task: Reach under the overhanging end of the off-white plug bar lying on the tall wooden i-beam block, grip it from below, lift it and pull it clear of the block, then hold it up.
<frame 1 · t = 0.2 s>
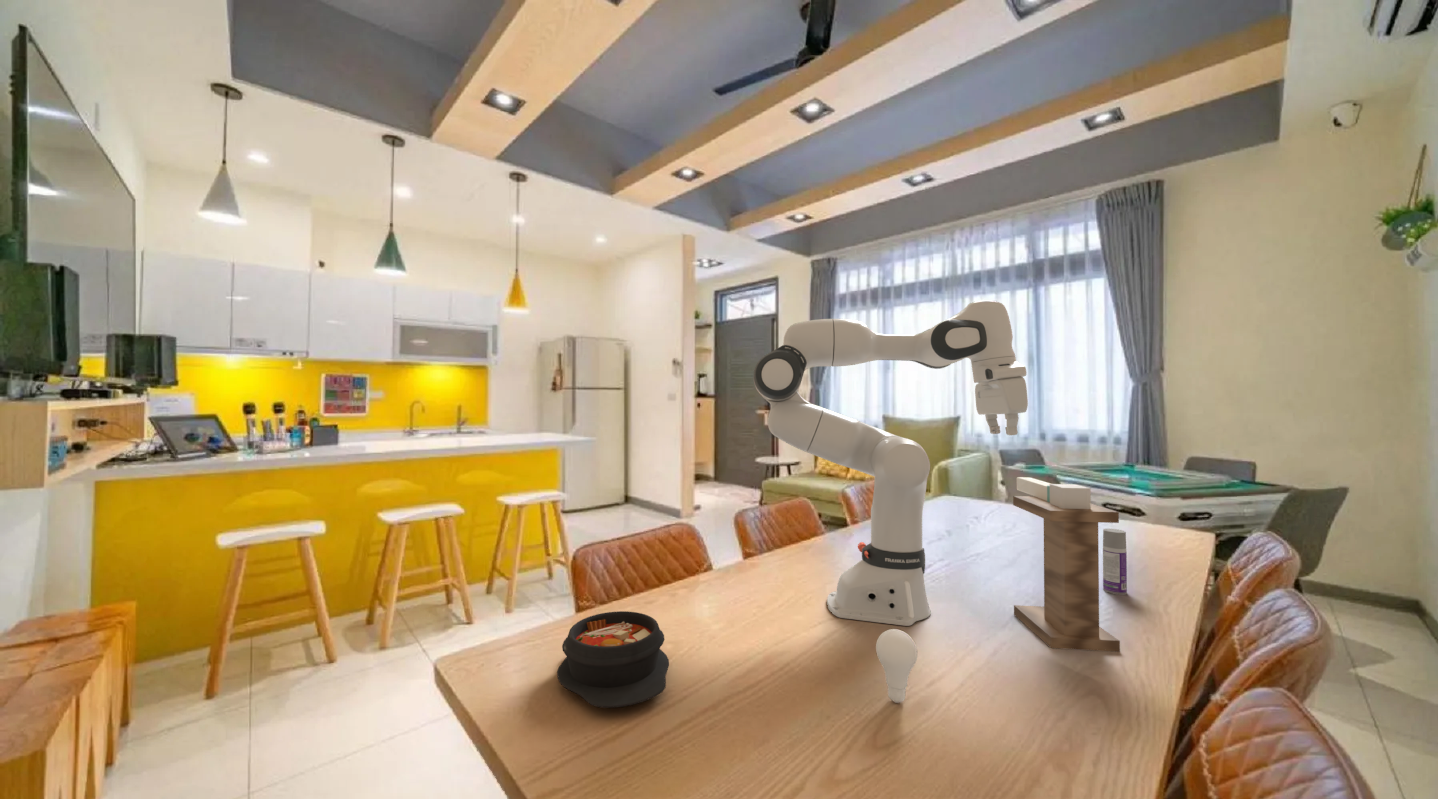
hand: (1003, 434, 115), 40 cm above the table, tool pointing down, fingers open, 8 cm apart
wooden i-beam block: (1062, 631, 106), on the table
plug bar: (1046, 498, 112), point 26 cm above the table, touching wooden i-beam block
lightbulb: (896, 703, 81), on the table
container: (1114, 592, 129), on the table
casserole: (614, 678, 88), on the table
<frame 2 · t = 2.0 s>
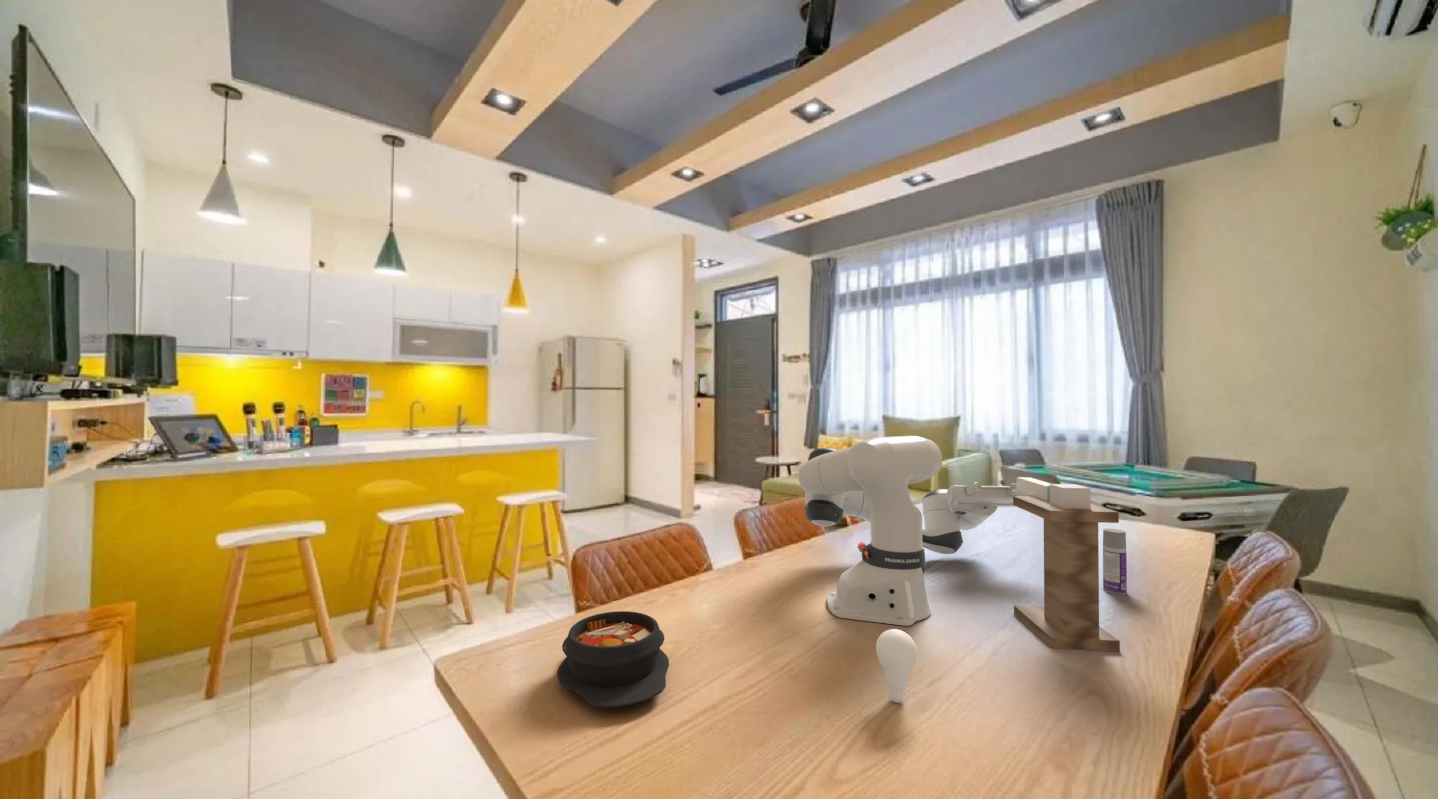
hand: (996, 485, 138), 25 cm above the table, tool pointing upward, fingers open, 8 cm apart
nothing on the table moved.
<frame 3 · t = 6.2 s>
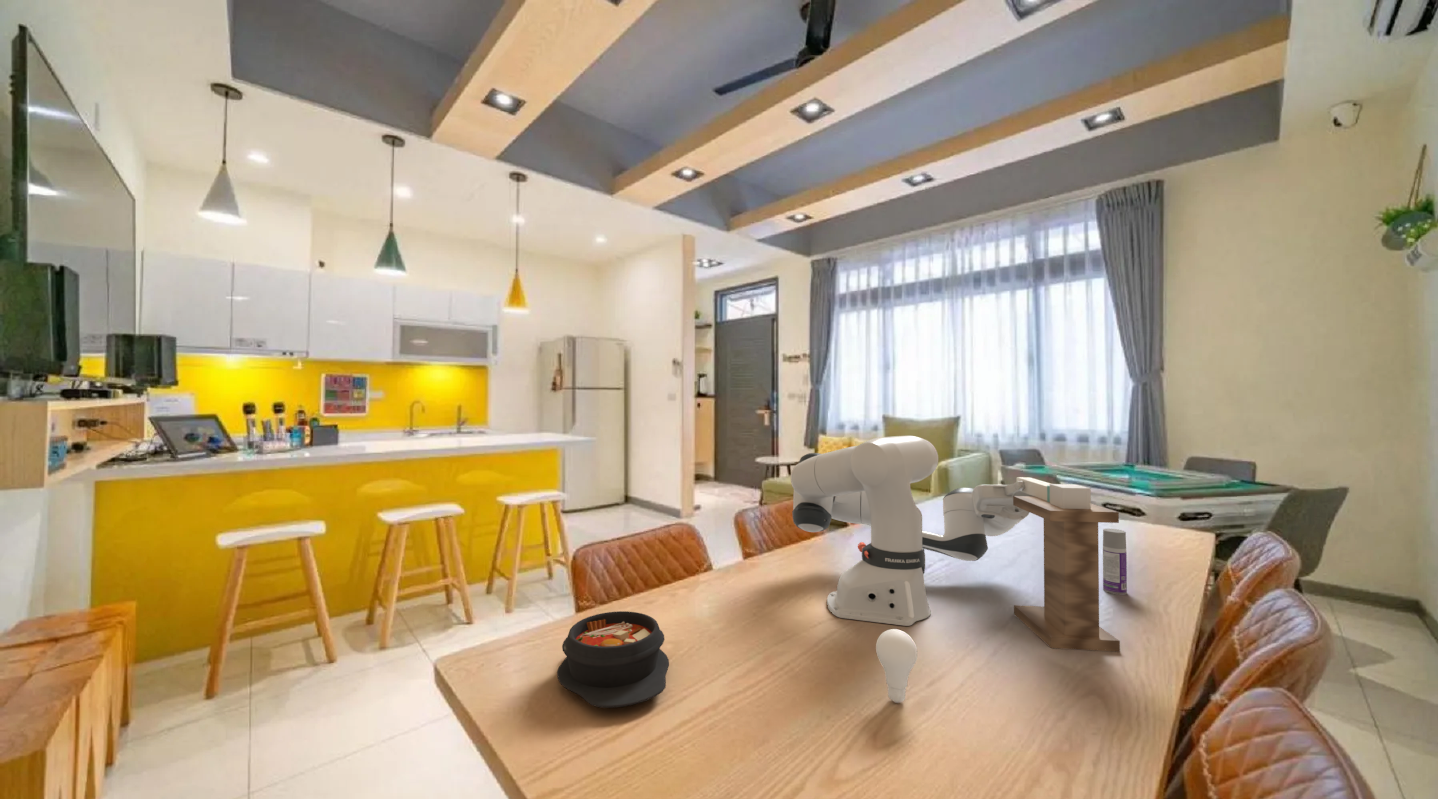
hand: (1031, 484, 119), 28 cm above the table, tool pointing upward, fingers closed on plug bar, 3 cm apart
plug bar: (1046, 498, 112), point 26 cm above the table, touching gripper, wooden i-beam block
everything else where it was.
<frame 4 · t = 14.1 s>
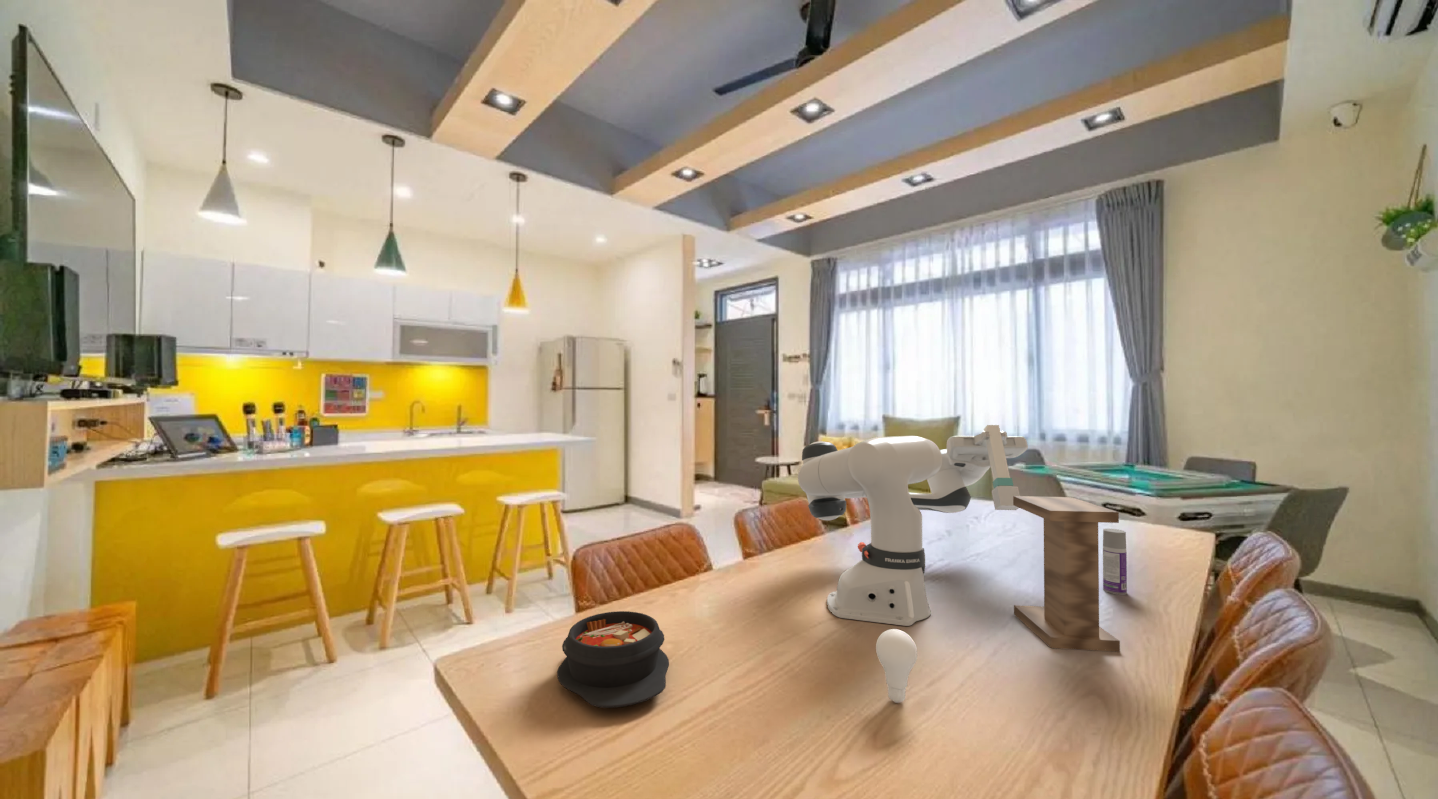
hand: (995, 433, 139), 38 cm above the table, tool pointing upward, fingers closed on plug bar, 3 cm apart
plug bar: (996, 467, 138), point 30 cm above the table, tilted 63°, touching gripper
everything else where it was.
at the end: the gripper is holding plug bar; plug bar touching gripper; plug bar inside the target area (4.8 cm from its centre), point 29.5 cm above the table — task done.
